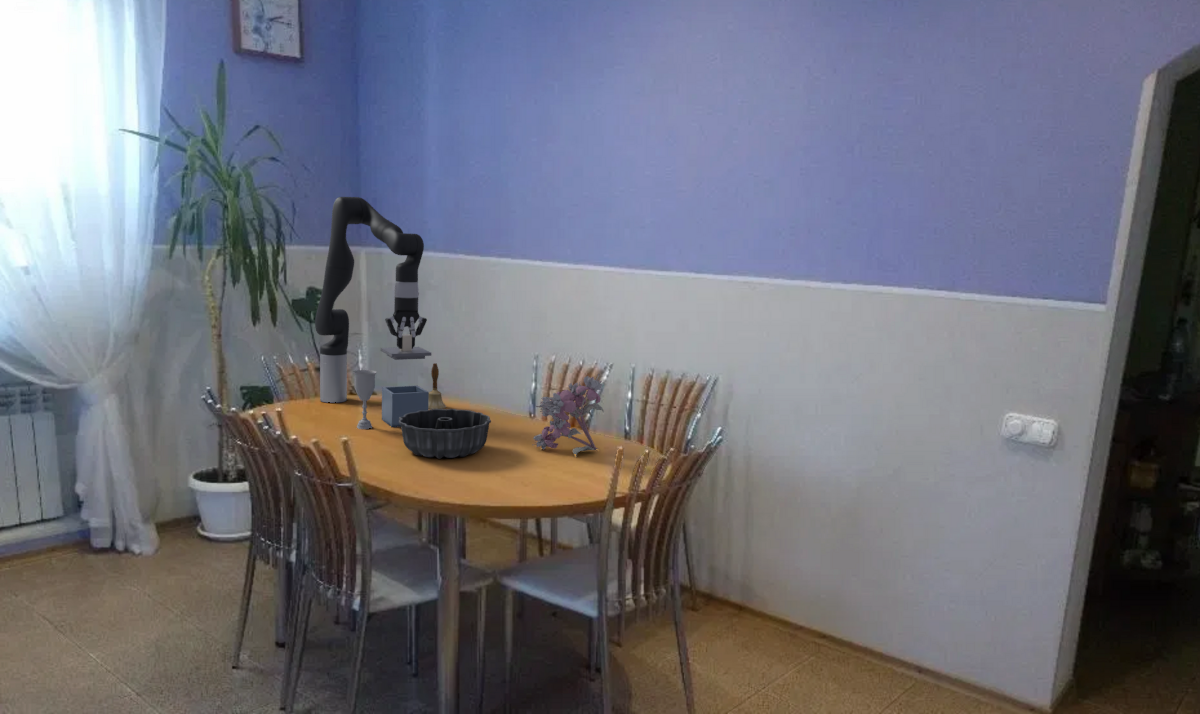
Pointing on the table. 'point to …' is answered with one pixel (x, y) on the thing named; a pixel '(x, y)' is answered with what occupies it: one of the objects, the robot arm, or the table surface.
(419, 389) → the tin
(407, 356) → the lid
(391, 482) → the table surface
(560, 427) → the flower
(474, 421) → the bundt pan
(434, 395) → the hand bell
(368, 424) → the chalice
